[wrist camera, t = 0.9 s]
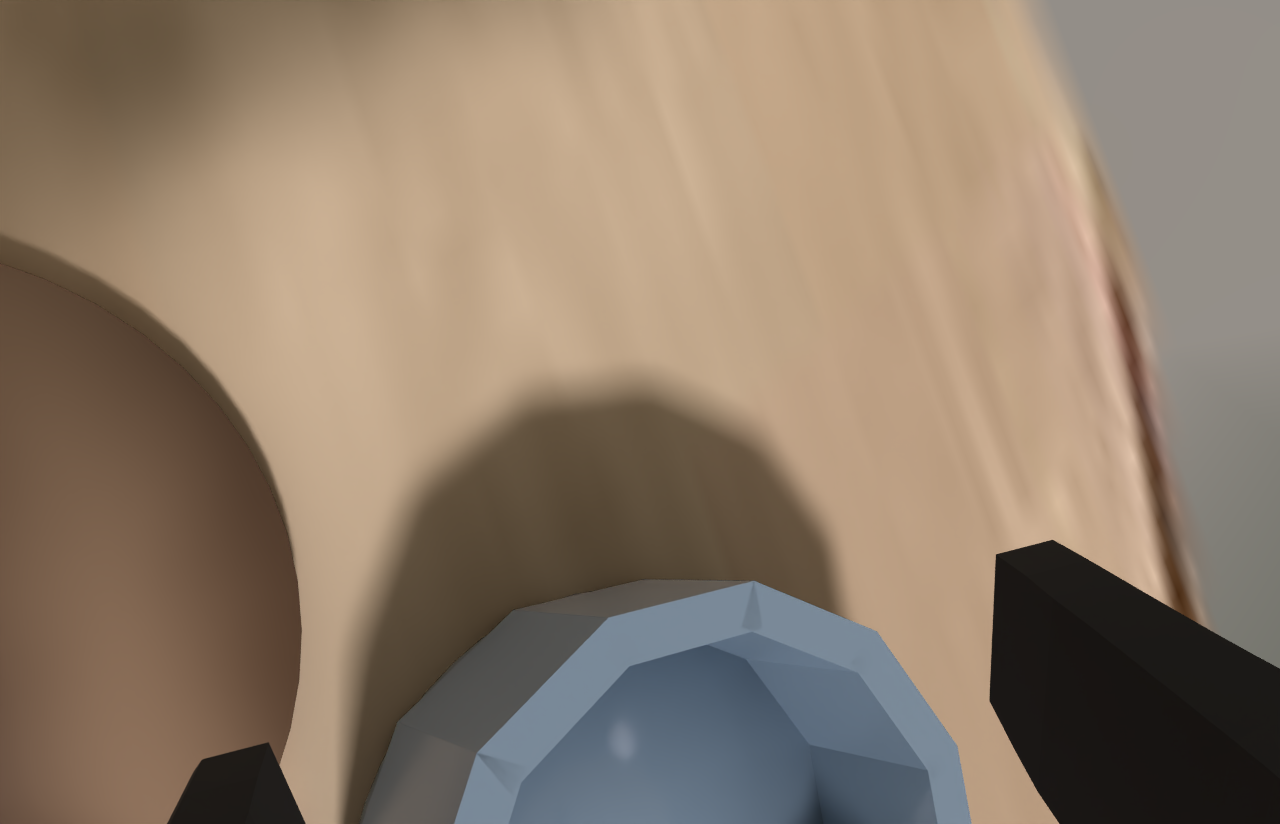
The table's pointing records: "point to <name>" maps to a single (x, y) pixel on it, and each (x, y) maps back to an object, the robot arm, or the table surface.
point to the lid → (127, 572)
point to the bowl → (672, 719)
